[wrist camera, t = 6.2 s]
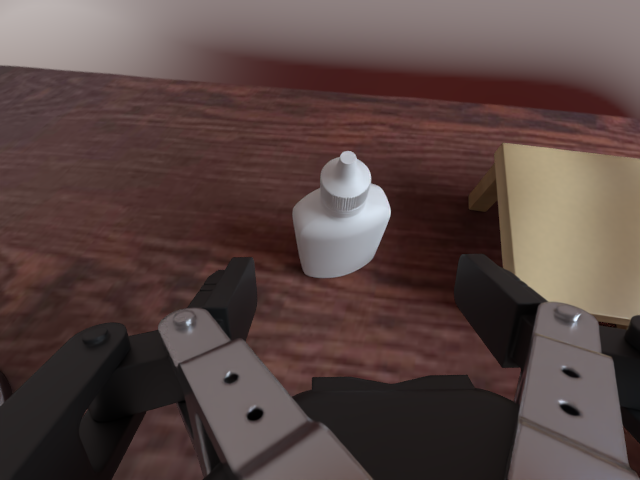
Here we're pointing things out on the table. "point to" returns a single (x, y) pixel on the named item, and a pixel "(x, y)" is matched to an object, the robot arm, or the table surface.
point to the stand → (569, 226)
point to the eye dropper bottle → (340, 219)
